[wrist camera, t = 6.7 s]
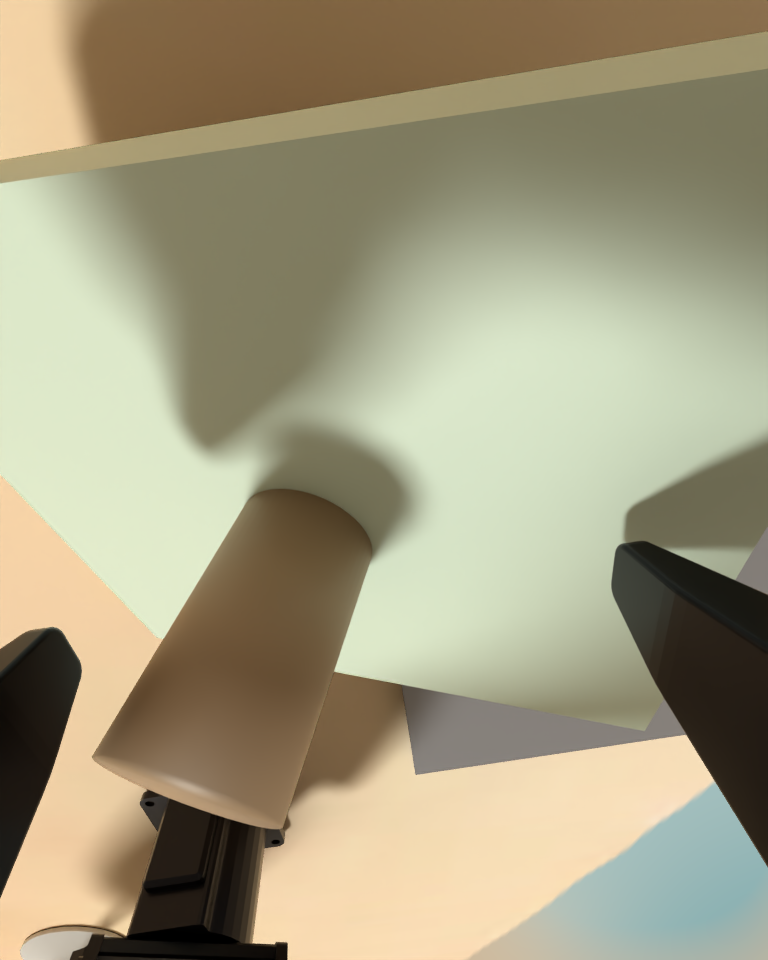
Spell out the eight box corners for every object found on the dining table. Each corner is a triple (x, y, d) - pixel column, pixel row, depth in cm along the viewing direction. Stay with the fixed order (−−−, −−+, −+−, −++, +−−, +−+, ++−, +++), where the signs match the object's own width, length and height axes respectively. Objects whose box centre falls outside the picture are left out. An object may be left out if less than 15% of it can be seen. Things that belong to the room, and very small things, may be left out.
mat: (718, 711, 26) (731, 727, 26) (413, 756, 26) (415, 774, 25) (794, 471, 19) (816, 482, 19) (378, 531, 19) (379, 546, 18)
